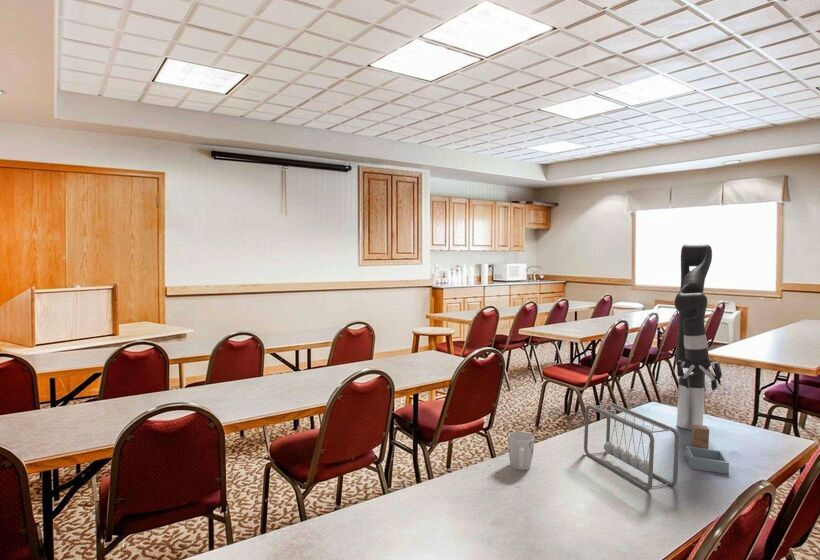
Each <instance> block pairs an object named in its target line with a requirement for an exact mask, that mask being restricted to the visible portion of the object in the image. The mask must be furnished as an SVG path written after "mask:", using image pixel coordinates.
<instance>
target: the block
mask: <svg viewBox="0 0 820 560" xmlns="http://www.w3.org/2000/svg"><path fill="white" fill-rule="evenodd" d="M709 439H710V429H709V427H708V426H707V425H704V424H703V425H696V424H692V430H691V441H690V442H691V445H690V447H697V448H704V449H709V441H710V440H709Z"/></svg>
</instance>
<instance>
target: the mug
mask: <svg viewBox="0 0 820 560" xmlns="http://www.w3.org/2000/svg"><path fill="white" fill-rule="evenodd" d="M507 445H508V446H507V449H508V458H509V464H510V466H511V468H512V469H514V470H518V471H526V470H527V471H528V470H529V469H530V468H531V466H532V461H533V457H534V456H533V455H534V450H535V436H534V435H533V434H531V433H530V432H525V431H511V432H509V433H508V435H507Z"/></svg>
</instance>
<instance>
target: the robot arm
mask: <svg viewBox="0 0 820 560" xmlns="http://www.w3.org/2000/svg"><path fill="white" fill-rule="evenodd" d="M712 250H713V249H712V247H711V245H709V244H704V243H701V244H699V243H698V244H696V243H691V244H689V243H687V244H683V245H682V246H681V250H680V290H679V292H678V293H677V294H676V296H675V298H674V307H675V309H676V310H677V311H678V332H677V334H678V335H677V340H676V341H677V342H676V349H675V350H676V351H675V364H676V370H677V371H676V372H677V373H676V374H677V377H678V389H677V391H678V394H677V408H676V409H677V410H676V411H677V414H676V415H677V416H676V426H677V427H679V428H680V429H683V430H688V431H692V424H696V425H704V410H705V408H704V407H705V389H706V388H705V386H706V385H705V384H706V380H705V379H706V376H707V377H708V378H709V380H710V383H711V385H710V386H711V390H712V391H715V390H716V389H717V388H718V382H717V380H720V379H722V377H723V373H722V370H721V369H722V368H721V363H720V361H716V362H714V361H710V355H709V348H708V347H709V345H708V339H707V335H706V334H707V333H706V329H705V316H706V312H707V311H706V310H707V307H708V297H707V296H706V294H704V289H705V281H706V278H707V275H708V272H709V269H710V267H711V265H712V261H713V260H712V259H713V251H712ZM690 267H695V268H692V269H690ZM711 367H712V368H713V369H715V373H714V372H713V371H712V370H711V369H710V368H711ZM683 369H687V370H686V371H685V373H684V371H683Z"/></svg>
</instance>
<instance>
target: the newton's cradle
mask: <svg viewBox="0 0 820 560" xmlns="http://www.w3.org/2000/svg"><path fill="white" fill-rule="evenodd" d="M601 407H606V409H607V410H605V409H603V408H601ZM613 409H614V410H616V411H617V412H616V414H615V413H612V411H613V412H614V410H613ZM590 410H593V411H594V412H597V413H598V414H601V415H603V416H605V417H606V435H605V436H606V437H605V440H606V441H605V443H604V445H603V450H604V451H602V452H601V451H600V452H594V453H590V452H589V450H588V444H589V443H588V442H589V439H588V438H589V436H588V435H589V414H590V413H589V412H590ZM619 411H620V412H622V413H623V415H624V414H625V415H624V417H622V416H619V415H618V414H619ZM584 412H585V413H584V437H583V439H584V440H583V450H584V451H583V452H584V453H585V454H586V456H587V457H588V458H591V459H593V460H594V461H596V462H598V463H599V464H601V465H602V466H604V467H606V468H608V469H609V470H611V471H613V473H614V472H615V473H616V474H618V475H619V476H621V477H622V478H624V479H625V480H627V481H628V482H630V483H633V484H634V485H636V486H637V487H640V488H641V489H643V490H644V491H650V490H651V489H652V488H657V487H663V486H670V487H675V486H677V483H678V473H679V472H678V471H679V470H678V469H679V451H680V450H679V449H680V435H679V432H678V431H677V430H676V429H675V428H674V427H672V426H669V425H667V424H666V423H662V422H661V421H660V422H659V421H658V420H656V419H655V420H654V419H653V418H651V417H648V416H645V415H642V414H641V413H637V412H636V411H633V410H631V409H628V408H625V407H623V406H620V405H618V404H616V403H613V402H610V403H608V404H604V405H601V404H600V405H591V404H589V405H586V407H585V411H584ZM627 415H629V416H631V417H629V419H630V418H631V419H632V418H634V419H633V421H631V420H628V419H627ZM636 418H637V419H639V420H640V421H639V420H638V421H637V423H636V421H635V420H636ZM611 419H612V420H614V426H613V430H612V432H614V431H615V429H617V427H616V426H617V425H616V422H618V423H620V424H622V433H621V436H620V437H621V438H620V440H622V438H623V435H624V438H626V434H625V433H626V432H625V431H624V430H625V425H626V426H628V427H630V428H631V434H630V439H629V442H632V441H633V442H632V443H635V439H634V436H633V434H634V430H637V431H639V432H640V438H639V441H642V442H639V443H638V444H639V445H638V446H640V445H641V443H642V445H644V442H643V441H644V440H643V438H642V436H643V434H646V435H647V436H648V438H649V444H648V445H649V446H648V450H647V456H646V458H645V456H643V459H642V457H640V456H638V455H639V449H640V447H638V449H637V453H636V454H634V455H633V453H632V452H630V451H629V450H630V448H628V449H627V448H625V450H624V448H622V447H621V444H622V441H620V443H619V442H618V441H619V440H616V445H617V446H616V445H615V444H614V443H613V442H612V440H613V435H614V433H612V434H611ZM641 421H642V425H639V424H638V422H639V423H640V422H641ZM645 422H646V423H647V424H648V425H647V427H648V426H649V427H650V426H652V428H651V429H652V430H650V428H649V429H648V428H646V427H645V425H644V424H645ZM654 426H655V427H657V428H660V429H662V430H654ZM653 430H654V431H653ZM668 431H669V432H671V433H672V434H673V435H674V448H673V449H674V451H673V469H672V473H673V474H672V481H670V480H668V479H665V478H664V477H662V476H660V475H658V474H656V473H655V472H654V459H655V458H654V457H655V450H654V449H655V437H654V434H655V433H660V432H661V433H663V432H668ZM617 434H618V432H617V431H615V435H616V437H618V435H617ZM610 436H611V440H610ZM631 440H632V441H631ZM626 442H627V441H626V440H624V444H625V446H627V443H626ZM618 443H619V444H618ZM630 445H631V443H629V445H628V447H630ZM635 447H636V446H635V445H633V449H634V450H633V451H634V452H636V448H635ZM642 450H643V453H642V454H645V450H644V447H642ZM600 454H611V455H613V456H614V458H616V459H619V460H621V461H622V462H623V463H626V464H630V466H631V467H632V468H634V469H638V470H639V471H640V472H641V473H643V474H646V475H648V479H647V486H646V485H645V484H644V483H642V482H640V481H638V480H636V479H635V478H633V477H631V476H629V475H628V474H626V473H624V472H623V471H621V470H619V469H617V468H616V467H614V466H612V465H611V464H609V463H607V462H605V461H604V460H603V459H601V458H599V457H597V456H596V455H600ZM654 478H655V479H656V480H659V481H660V482H662V483H663V484H656V485H653V479H654Z"/></svg>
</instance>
